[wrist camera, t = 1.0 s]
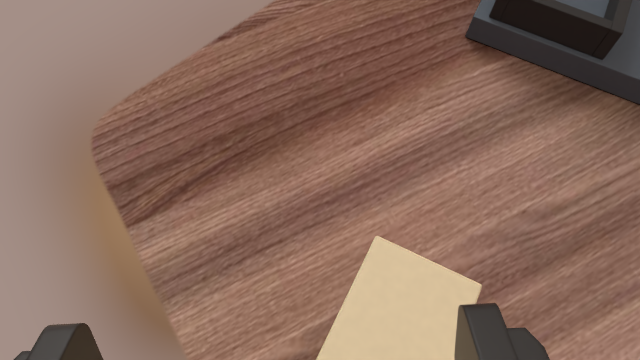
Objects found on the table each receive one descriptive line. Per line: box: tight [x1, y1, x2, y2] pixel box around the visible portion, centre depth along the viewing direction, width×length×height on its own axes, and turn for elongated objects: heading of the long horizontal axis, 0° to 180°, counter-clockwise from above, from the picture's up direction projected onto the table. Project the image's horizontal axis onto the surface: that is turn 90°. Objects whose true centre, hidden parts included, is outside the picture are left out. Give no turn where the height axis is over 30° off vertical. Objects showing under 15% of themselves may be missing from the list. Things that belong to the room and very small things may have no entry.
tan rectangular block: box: [316, 236, 482, 360], centre depth 24 cm, size 4×6×9 cm
